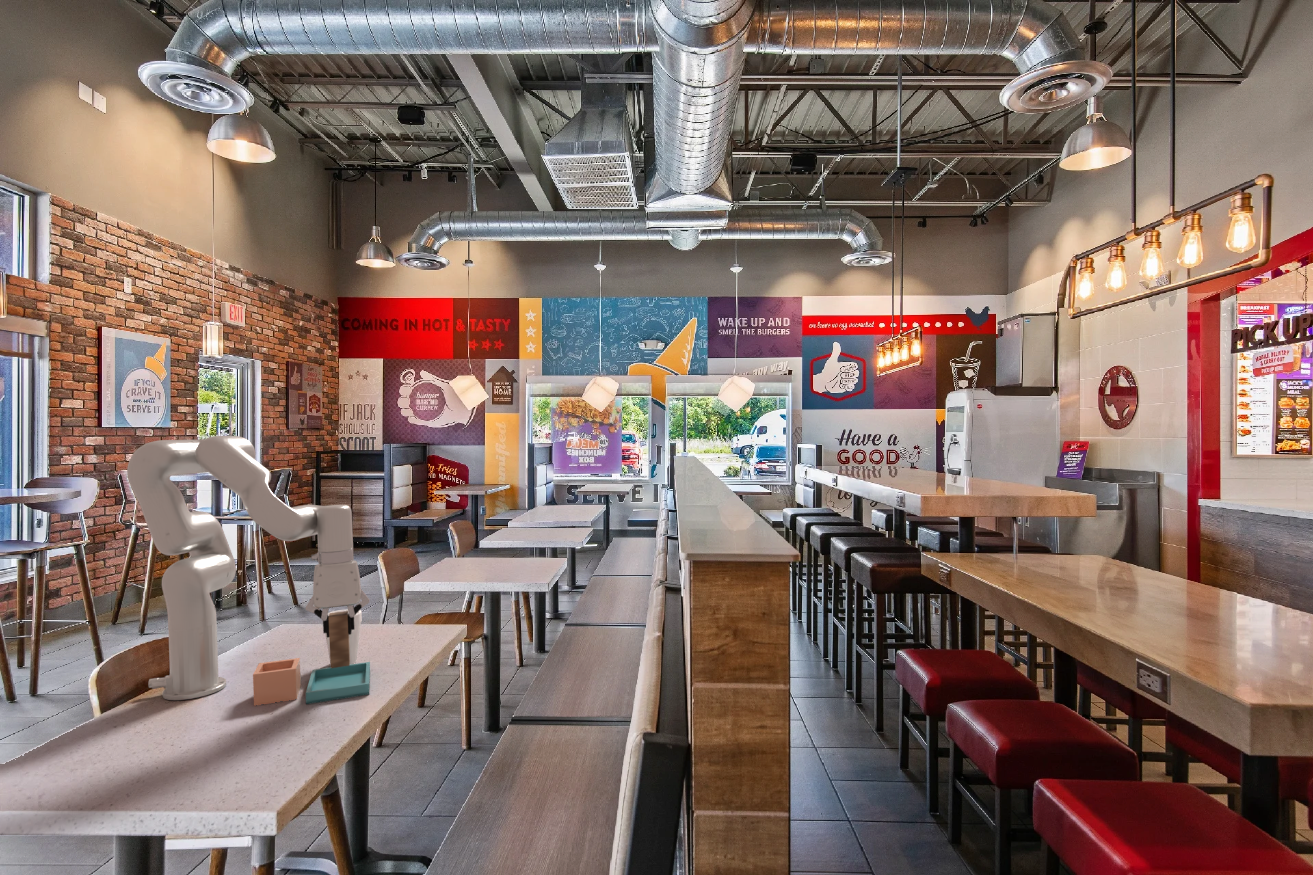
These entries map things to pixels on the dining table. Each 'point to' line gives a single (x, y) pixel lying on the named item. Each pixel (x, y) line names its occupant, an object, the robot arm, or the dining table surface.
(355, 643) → the foam cup
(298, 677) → the holder cup
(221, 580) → the robot arm
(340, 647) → the walnut stick
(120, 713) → the dining table surface
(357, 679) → the tray
